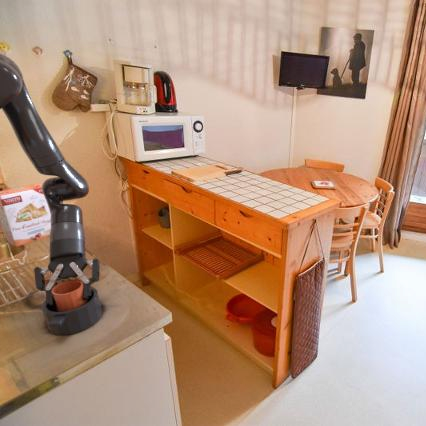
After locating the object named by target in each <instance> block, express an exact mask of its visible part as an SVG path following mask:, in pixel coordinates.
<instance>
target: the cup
mask: <svg viewBox="0 0 426 426" xmlns="http://www.w3.org/2000/svg"><path fill="white" fill-rule="evenodd" d="M52 295H53V298H54V302H55V305H56V308H57V311H58V312H65V311H69V310H73V309H76V308H78V307H81V306H83V305H85V304H86V303H87V302H88V301H87V300H85V299H84V296H83V281H82V280H81V279H80V280H79V279H69V280H66V281H62V282H60V283H59V284H58V285H56V286H55V287H54V288H53V289H52Z"/></svg>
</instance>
